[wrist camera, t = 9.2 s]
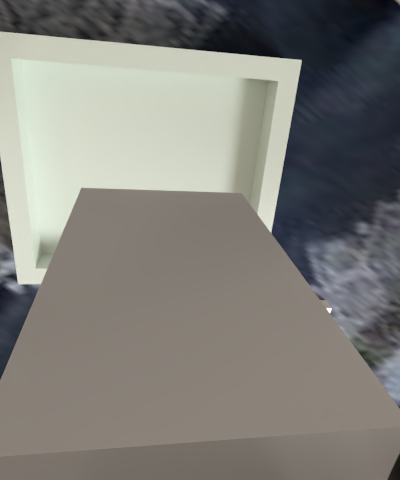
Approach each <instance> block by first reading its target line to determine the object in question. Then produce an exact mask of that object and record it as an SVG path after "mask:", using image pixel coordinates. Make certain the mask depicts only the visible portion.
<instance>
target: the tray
mask: <svg viewBox="0 0 400 480" xmlns="http://www.w3.org/2000/svg"><path fill="white" fill-rule="evenodd" d="M301 63H302V60H295V59H285V58H274V57H264V56H253V55H243V54H232V53H221V52H211V51H200V50H190V49H179V48H169V47H158V46H148V45H137V44H126V43H116V42H105V41H95V40H84V39H74V38H63V37H52V36H42V35H31V34H21V33H10V32H0V158H1V166H2V173H3V180H4V187H5V194H6V201H7V208H8V215H9V222H10V229H11V237H12V244H13V251H14V258H15V265H16V272H17V279H18V284H41V283H42V280H43V278H44V276H45V273H46V271H47V268H48V266H49V264H50V261H51V259H52V257H53V254H54V252H55V249H56V247H57V245H58V242H59V240H60V237H61V235H62V233H63V230H64V228H65V226H66V223H67V221H68V218H69V216H70V214H71V211H72V209H73V207H74V204H75V202H76V199H77V197H78V195H79V192H80V190H81V188H105V189H135V190H165V191H196V192H226V193H242V194H243V195H244V197H245V198H246V199H247V201H248V202H249V204H250V205H251V206H252V208H253V209H254V210H255V212H256V213H257V215H258V216H259V217H260V219H261V220H262V221H263V223H264V224H265V225H266V227H267V228H268V230H269V231H270V232H271V231H272V225H273V220H274V214H275V208H276V203H277V197H278V192H279V186H280V180H281V175H282V169H283V164H284V158H285V152H286V147H287V141H288V135H289V130H290V124H291V119H292V113H293V107H294V102H295V96H296V91H297V85H298V79H299V74H300V68H301Z"/></svg>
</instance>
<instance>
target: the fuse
mask: <svg viewBox="0 0 400 480" xmlns="http://www.w3.org/2000/svg"><path fill="white" fill-rule="evenodd" d="M399 453H400V409H399V407H398V406H397V405H396V403H395V402H394V401H393V399H392V398H391V396H390V395H389V394H388V392H387V391H386V390H385V388H384V387H383V386H382V384H381V383H380V381H379V380H378V379H377V377H376V376H375V375H374V373H373V372H372V370H371V369H370V368H369V366H368V365H367V364H366V362H365V361H364V360H363V358H362V357H361V355H360V354H359V353H358V351H357V350H356V349H355V347H354V346H353V344H352V343H351V342H350V340H349V339H348V338H347V336H346V335H345V334H344V332H343V331H342V329H341V328H340V327H339V325H338V324H337V323H336V321H335V320H334V319H333V317H332V316H331V314H330V313H329V312H328V310H327V309H326V308H325V306H324V305H323V303H322V302H321V301H320V299H319V298H318V297H317V295H316V294H315V293H314V291H313V290H312V288H311V287H310V286H309V284H308V283H307V282H306V280H305V279H304V277H303V276H302V275H301V273H300V272H299V271H298V269H297V268H296V267H295V265H294V264H293V262H292V261H291V260H290V258H289V257H288V256H287V254H286V253H285V251H284V250H283V249H282V247H281V246H280V245H279V243H278V242H277V241H276V239H275V238H274V236H273V235H272V234H271V232H270V231H269V230H268V228H267V227H266V225H265V224H264V223H263V221H262V220H261V219H260V217H259V216H258V215H257V213H256V212H255V210H254V209H253V208H252V206H251V205H250V204H249V202H248V201H247V199H246V198H245V197H244V195H243V194H242V193H226V192H196V191H165V190H135V189H105V188H81V190H80V192H79V195H78V197H77V199H76V202H75V204H74V207H73V209H72V211H71V214H70V216H69V218H68V221H67V223H66V226H65V228H64V230H63V233H62V235H61V237H60V240H59V242H58V245H57V247H56V249H55V252H54V254H53V257H52V259H51V261H50V264H49V266H48V268H47V271H46V273H45V276H44V278H43V280H42V283H41V285H40V287H39V290H38V292H37V295H36V297H35V299H34V302H33V304H32V307H31V309H30V311H29V314H28V316H27V318H26V321H25V323H24V326H23V328H22V330H21V333H20V335H19V337H18V340H17V342H16V345H15V347H14V349H13V352H12V354H11V357H10V359H9V361H8V364H7V366H6V368H5V371H4V373H3V376H2V378H1V380H0V480H387V479H388V477H389V475H390V473H391V470H392V468H393V466H394V464H395V462H396V460H397V457H398V455H399Z"/></svg>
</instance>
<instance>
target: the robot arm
mask: <svg viewBox="0 0 400 480" xmlns="http://www.w3.org/2000/svg"><path fill="white" fill-rule="evenodd" d="M387 480H400V453H399V455H398V457H397V460H396V462H395V464H394V466H393V468H392V470H391V473H390V475H389V477H388V479H387Z"/></svg>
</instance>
